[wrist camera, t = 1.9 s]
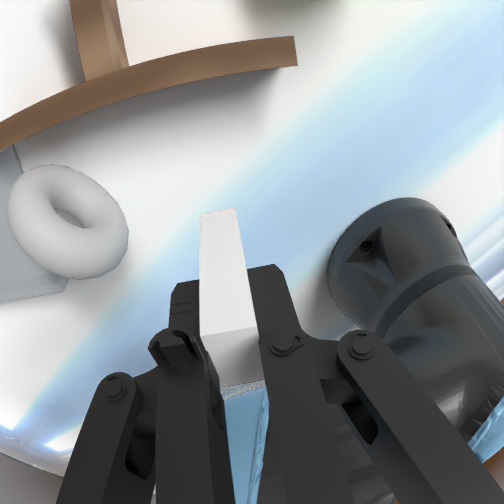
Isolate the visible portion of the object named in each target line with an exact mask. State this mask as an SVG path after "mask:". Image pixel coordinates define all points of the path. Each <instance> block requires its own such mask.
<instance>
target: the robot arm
mask: <svg viewBox="0 0 504 504" xmlns="http://www.w3.org/2000/svg"><path fill="white" fill-rule="evenodd" d="M328 284H329V288H330V291H331V293H332V295H333V297H334V300H335V302H336V304H337V306H338V307H339V309H340V310H341V312H342V313H343V314H344V315H345V316H346V317H348V318H349V319H350V320H351V321H352V322H353V323H354V324H355V325H356V326H357V327H358V328H359V329H360V330H355V331H351V332H348V333H347V334H346V335H344V336H343V337H342V338H341V340H340V341H330V340H319V339H316V338H313V337H311V336H309V335H308V334H306V333H305V332H304V331H303V330H302V328H301V326H300V324H299V321H298V318H297V315H296V312H295V309H294V305H293V302H292V299H291V296H290V293H289V290H288V286H287V284H286V280H285V277H284V274H283V272H282V271H281V270H280V269H279V268H278V267H277V266H276V265H275V264H271V265H266V266H261V267H256V268H251V269H247V265H246V260H245V255H244V250H243V245H242V240H241V235H240V230H239V225H238V220H237V214H236V209H235V207H234V208H229V209H224V210H219V211H214V212H209V213H204V214H200V258H199V279H198V280H192V281H187V282H182V283H177V285H176V287H175V288H174V290H173V292H172V293H171V302H170V306H171V307H170V316H169V327H168V328H167V329H163V330H162V331H160V332H159V333H157V334H156V335H155V336H154V337H153V338H152V340H151V341H150V343H149V346H148V350H149V352H150V353H151V355H152V357H153V358H154V360H155V361H156V363H157V364H158V366H157V367H155V368H154V369H152V370H150V371H149V372H146V373H144V374H141V375H139V376H137V377H134V378H132V377H131V376H130V375H129V374H126V373H123V372H116V373H113V374H110V375H108V376H106V377H105V378H104V379H103V380H102V381H101V382H100V384H99V385H98V387H97V389H96V392H95V394H94V397H93V399H92V402H91V404H90V407H89V409H88V412H87V414H86V417H85V419H84V422H83V425H82V427H81V430H80V433H79V435H78V438H77V441H76V444H75V447H74V449H73V452H72V455H71V458H70V461H69V464H68V467H67V470H66V473H65V476H64V479H63V482H62V485H61V488H60V492H59V495H58V498H57V501H56V504H150V503H151V499H152V495H153V490H154V486H155V482H156V504H396V498H397V500H398V501H399V503H400V504H504V492H503V491H502V489H501V488H500V487H499V485H498V484H497V482H496V481H495V480H494V478H493V477H492V475H491V474H490V473H489V471H488V470H487V469H486V467H485V466H484V465H483V462H485V461H486V460H487V459H489V458H490V457H491V456H492V455H493V454H495V453H496V452H497V451H498V450H500V449H501V448H502V447H503V446H504V306H503V305H502V304H501V302H500V301H499V300H498V298H497V297H496V296H495V295H494V294H493V292H492V291H491V290H490V289H489V288H488V287H487V285H486V284H485V283H484V282H483V281H482V280H481V278H480V277H479V276H478V275H477V274H476V273H475V271H474V270H473V269H472V268H471V267H470V265H469V262H468V260H467V257H466V255H465V253H464V250H463V248H462V246H461V244H460V242H459V240H458V238H457V235H456V232H455V230H454V228H453V226H452V224H451V222H450V221H449V220H448V218H447V217H446V216H445V215H444V214H443V213H441V212H440V211H439V210H438V209H437V208H436V207H435V206H434V205H432V204H431V203H429V202H427V201H425V200H422V199H418V198H399V199H394V200H391V201H388V202H385V203H382V204H380V205H378V206H376V207H374V208H373V209H371V210H369V211H368V212H366V213H365V214H364V215H362V216H361V217H360V218H359V219H357V220H356V221H355V222H354V223H353V224H352V225H351V226H350V227H349V228H348V229H347V231H346V232H345V233H344V234H343V236H342V237H341V238H340V240H339V242H338V243H337V245H336V247H335V249H334V251H333V253H332V256H331V258H330V262H329V266H328ZM261 380H265V384H266V385H265V386H264V387H261V388H258V389H255V390H252V391H249V392H246V393H243V394H239V395H236V396H233V397H231V398H229V399H227V400H226V401H224V400H223V398H222V395H221V393H220V383H221V385H222V387H226V386H232V385H238V384H244V383H250V382H256V381H261Z"/></svg>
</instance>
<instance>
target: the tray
mask: <svg viewBox="0 0 504 504" xmlns="http://www.w3.org/2000/svg"><path fill="white" fill-rule="evenodd" d="M22 174H23V172H22V170H21V167H20V164H19V161H18V159H17V156H16V153H15V150H14V147H13V144H12V145H10V146H8V147H6V148H4V149H3V150H1V151H0V303H3V302H8V301H14V300H19V299H25V298H30V297H35V296H41V295H46V294H51V293H56V292H62V291H63V290H64V288H65V286H66V283H67V281H68V279H69V278H68V277H63V276H59V275H57V274H55V273H53V272H51V271H49V270H47V269H45V268H43V267H41V266H39V265H38V264H37V263H36V262H34V261H33V260H32V259H31V258H30V257H29V256H27V255H26V254H25V253H24V252H23V251H22V249H21V248H20V246H19V245H18V243H17V242H16V240H15V239H14V237H13V236H12V234H11V230H10V226H9V223H8V219H7V214H6V210H7V203H8V197H9V192H10V190H11V188H12V187H13V185H14V184H15V182H16V181H17V180H18V178H19V177H20V176H21V175H22Z"/></svg>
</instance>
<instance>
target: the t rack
mask: <svg viewBox="0 0 504 504" xmlns="http://www.w3.org/2000/svg"><path fill="white" fill-rule="evenodd" d="M70 6H71V12H72V18H73V23H74V29H75V34H76V39H77V44H78V49H79V54H80V59H81V63H82V68H83V72H84V76H85V80H86V82H84V83H81V84H79V85H76V86H74V87H71V88H69V89H67V90H64V91H62V92H60V93H57V94H55V95H53V96H51V97H49V98H46V99H44V100H42V101H40V102H38V103H36V104H34V105H32V106H30V107H28V108H26V109H24V110H22V111H20V112H18V113H16V114H14V115H12V116H11V117H9V118H7V119H5V120H3V121H2V122H0V151H1V150H3V149H4V148H6V147H8V146H10V145H12V144H14V143H16V142H18V141H20V140H22V139H24V138H27V137H29V136H31V135H33V134H35V133H37V132H40V131H42V130H44V129H46V128H49V127H51V126H53V125H56V124H58V123H61V122H63V121H65V120H68V119H70V118H73V117H76V116H78V115H81V114H83V113H86V112H89V111H92V110H94V109H97V108H100V107H103V106H106V105H109V104H112V103H115V102H118V101H121V100H124V99H128V98H131V97H134V96H138V95H141V94H145V93H148V92H152V91H156V90H159V89H163V88H167V87H171V86H175V85H179V84H184V83H188V82H193V81H197V80H202V79H207V78H212V77H218V76H223V75H229V74H235V73H241V72H248V71H255V70H262V69H270V68H279V67H289V66H298V65H297V57H296V49H295V42H294V36H287V37H275V38H265V39H256V40H248V41H241V42H234V43H228V44H222V45H216V46H210V47H205V48H200V49H195V50H190V51H186V52H181V53H177V54H173V55H169V56H165V57H161V58H157V59H154V60H150V61H146V62H143V63H139V64H136V65H133V66H130V67H129V64H128V59H127V55H126V50H125V45H124V40H123V35H122V30H121V25H120V20H119V14H118V9H117V3H116V0H70Z"/></svg>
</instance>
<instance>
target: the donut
mask: <svg viewBox="0 0 504 504" xmlns="http://www.w3.org/2000/svg"><path fill="white" fill-rule="evenodd" d="M54 209H58V210H61V211H65V212H66V213H68V214H70V215H72V216H73V217H74V218H75V219H77V220H78V221H79V222H80V223H81V225H82V226H83V227H84V228H82V227H78V226H75V225H73V224H71V223H69V222H67V221H66V220H64V219H63V218H62V217H61V216H60V215H58V214H57V213H56V211H55V210H54ZM6 214H7V219H8V223H9V226H10V230H11V234H12V236H13V237H14V239H15V240H16V242H17V243H18V245H19V246H20V248H21V249H22V251H23V252H24V253H25V254H26V255H27V256H29V257H30V258H31V259H32V260H33V261H34V262H36V263H37V264H38V265H39V266H41V267H43V268H45V269H47V270H49V271H51V272H53V273H55V274H57V275H59V276H63V277H68V278H74V279H79V280H80V279H89V278H96V277H100V276H102V275H104V274H105V273H107V272H109V271H111V270H113V269H114V268H115V267H116V266H117V265H118V264H119V262H120V261H121V259H122V258H123V256H124V254H125V252H126V250H127V246H128V234H129V230H128V227H127V223H126V219H125V216H124V213H123V212H122V210H121V208H120V206H119V205H118V203H117V201H116V200H115V199H114V198H113V197H112V196H111V195H110V194H109V192H108V191H107V190H106V189H104V188H103V187H102V186H101V185H100V184H98V183H97V182H96V181H95V180H93V179H91V178H90V177H88V176H86V175H85V174H83V173H81V172H79V171H76V170H74V169H71V168H69V167H65V166H59V165H43V166H37V167H35V168H33V169H31V170H29V171H27V172H25V173H23V174H22V175H21V176H20V177H19V178H18V180H17V181H16V182H15V184H14V185H13V187H12V188H11V190H10V192H9V197H8V203H7V210H6Z"/></svg>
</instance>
